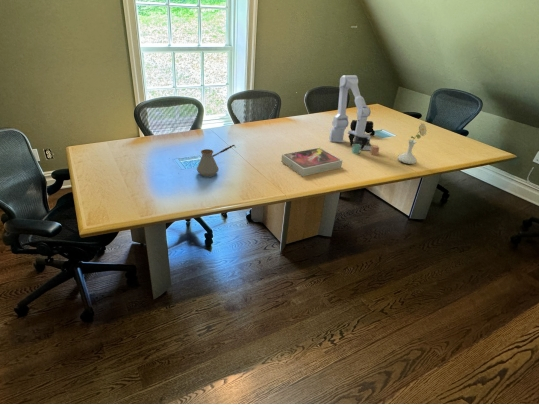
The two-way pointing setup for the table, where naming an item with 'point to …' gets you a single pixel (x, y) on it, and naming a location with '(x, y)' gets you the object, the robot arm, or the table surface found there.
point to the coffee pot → (209, 162)
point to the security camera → (367, 129)
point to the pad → (366, 148)
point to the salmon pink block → (374, 150)
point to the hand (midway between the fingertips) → (356, 147)
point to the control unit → (360, 140)
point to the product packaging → (311, 161)
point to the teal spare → (356, 148)
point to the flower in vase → (408, 156)
